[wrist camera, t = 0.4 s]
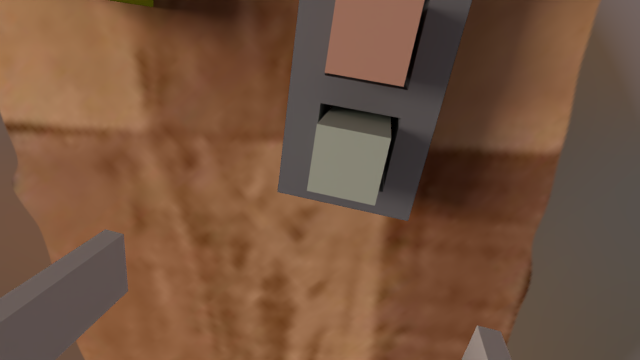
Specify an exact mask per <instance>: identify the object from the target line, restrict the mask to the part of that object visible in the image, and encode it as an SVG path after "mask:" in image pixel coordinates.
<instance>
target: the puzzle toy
mask: <svg viewBox="0 0 640 360" xmlns="http://www.w3.org/2000/svg"><path fill="white" fill-rule="evenodd" d="M110 1H117V2H123V3H130V4H137V5H143V6H150V7H153V1H154V0H110Z"/></svg>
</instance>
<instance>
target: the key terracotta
mask: <svg viewBox="0 0 640 360" xmlns="http://www.w3.org/2000/svg"><path fill="white" fill-rule="evenodd" d="M424 1H425V0H335V7H334V14H333V20H332V27H331V34H330V40H329V47H328V54H327V60H326V67H325V73H330V74H335V75H341V76H346V77H352V78H358V79H363V80H369V81H374V82H380V83H386V84H391V85H397V86H402V87H404V83H405V79H406V75H407V71H408V67H409V63H410V59H411V54H412V50H413V46H414V42H415V38H416V34H417V30H418V26H419V21H420V17H421V13H422V9H423V5H424Z"/></svg>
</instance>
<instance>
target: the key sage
mask: <svg viewBox="0 0 640 360" xmlns="http://www.w3.org/2000/svg"><path fill="white" fill-rule="evenodd" d="M390 141H391V116H387V115H381V114H376V113H371V112H365V111H360V110H355V109H350V108H344V107H339V106H334V105H333V107H332V108H331V109H330V110H329V111H328V112H327V113H326V114H325V115H324V117H323V118H322V119H321V120H320V121H319V122H318V123H317V127H316V133H315V140H314V147H313V153H312V160H311V167H310V173H309V180H308V186H307V191H310V192H315V193H319V194H324V195H329V196H333V197H338V198H342V199H347V200H351V201H356V202H360V203H365V204H370V205H374V206H375V203H376V199H377V195H378V191H379V187H380V183H381V178H382V174H383V170H384V166H385V162H386V158H387V154H388V149H389V145H390Z"/></svg>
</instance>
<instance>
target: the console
mask: <svg viewBox="0 0 640 360" xmlns="http://www.w3.org/2000/svg"><path fill="white" fill-rule="evenodd" d="M471 2H472V0H425V1H424V5H423V9H422V13H421V17H420V21H419V26H418V30H417V34H416V38H415V42H414V46H413V50H412V54H411V59H410V63H409V67H408V71H407V75H406V79H405V83H404V87H402V86H397V85H391V84H386V83H380V82H374V81H369V80H363V79H358V78H352V77H346V76H341V75H335V74H330V73H325V67H326V60H327V54H328V47H329V40H330V34H331V27H332V20H333V14H334V7H335V0H299V7H298V16H297V25H296V34H295V43H294V52H293V60H292V69H291V78H290V87H289V96H288V104H287V113H286V122H285V131H284V140H283V149H282V157H281V166H280V175H279V184H278V192H280V193H285V194H289V195H294V196H298V197H303V198H307V199H312V200H316V201H321V202H325V203H330V204H334V205H339V206H343V207H348V208H352V209H357V210H361V211H366V212H370V213H375V214H379V215H384V216H388V217H393V218H397V219H402V220H406V221H408V219H409V215H410V212H411V208H412V205H413V202H414V198H415V195H416V191H417V188H418V184H419V181H420V178H421V174H422V171H423V167H424V164H425V160H426V157H427V153H428V150H429V147H430V143H431V140H432V136H433V133H434V129H435V126H436V123H437V119H438V116H439V112H440V109H441V105H442V102H443V98H444V95H445V92H446V88H447V85H448V81H449V78H450V74H451V71H452V67H453V64H454V61H455V57H456V54H457V50H458V47H459V43H460V40H461V37H462V33H463V30H464V26H465V23H466V19H467V16H468V12H469V9H470V6H471ZM331 105H334V106H339V107H344V108H350V109H355V110H360V111H365V112H371V113H376V114H381V115H387V116H392V117H396V119H395V123H394V127H393V131H392V135H391V141H390V145H389V149H388V154H387V158H386V162H385V166H384V170H383V174H382V178H381V183H380V187H379V191H378V195H377V199H376V203H375V206H374V205H370V204H365V203H360V202H356V201H351V200H347V199H342V198H338V197H333V196H329V195H324V194H319V193H315V192H310V191H307V186H308V180H309V173H310V167H311V160H312V153H313V147H314V140H315V133H316V127H317V123H318V122H319V121H320V120H321V119H322V118H323V117H324V115H325V114H326V113H327V112H328V111H329V110H330V106H331Z"/></svg>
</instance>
